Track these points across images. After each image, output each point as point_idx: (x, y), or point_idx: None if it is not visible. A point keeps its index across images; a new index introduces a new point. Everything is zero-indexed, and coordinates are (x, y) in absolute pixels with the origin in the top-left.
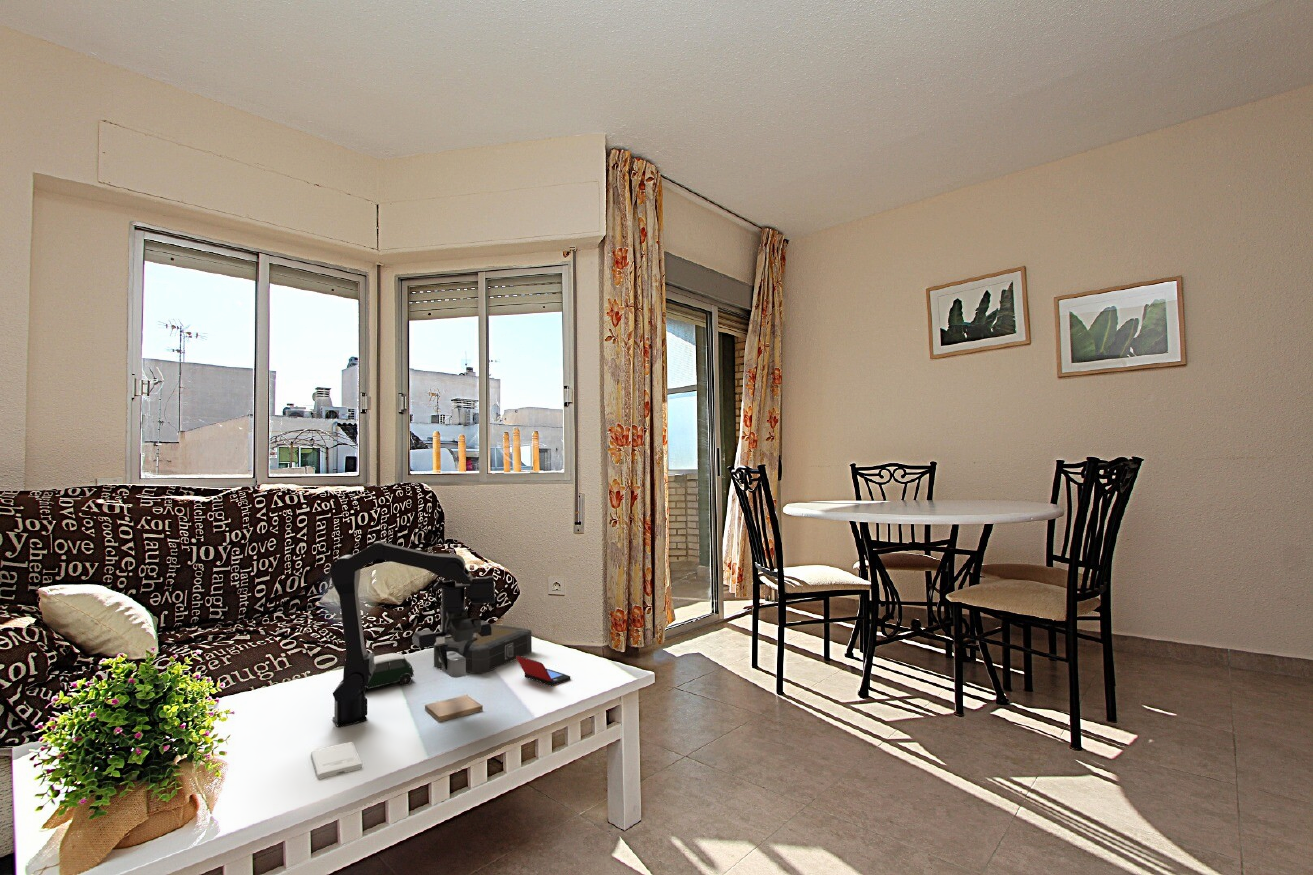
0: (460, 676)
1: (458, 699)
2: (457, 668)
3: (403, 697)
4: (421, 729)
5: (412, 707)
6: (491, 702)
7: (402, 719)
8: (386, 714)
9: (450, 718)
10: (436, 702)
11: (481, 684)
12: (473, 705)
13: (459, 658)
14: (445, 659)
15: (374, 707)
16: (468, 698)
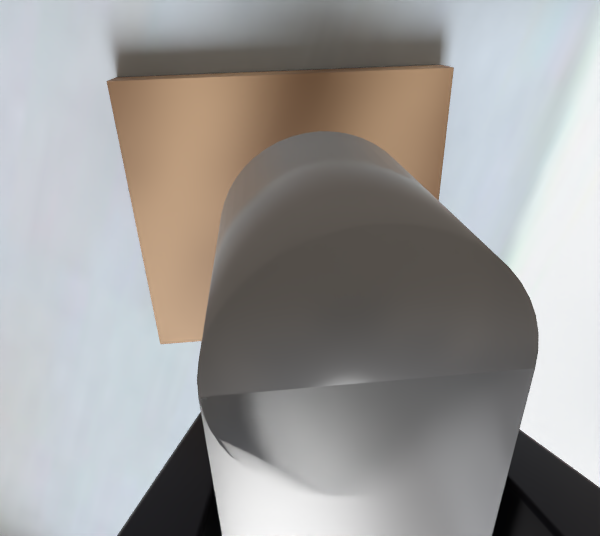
0: (326, 132)
1: None
2: (403, 179)
3: None
4: (582, 2)
5: None
6: (25, 194)
7: (565, 242)
8: (578, 348)
9: (361, 68)
10: None
11: (40, 479)
12: (171, 132)
13: (329, 395)
14: (542, 477)
15: (566, 445)
16: (169, 281)
